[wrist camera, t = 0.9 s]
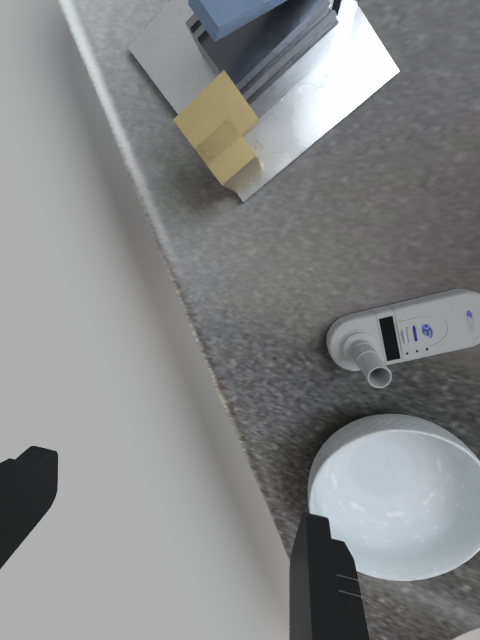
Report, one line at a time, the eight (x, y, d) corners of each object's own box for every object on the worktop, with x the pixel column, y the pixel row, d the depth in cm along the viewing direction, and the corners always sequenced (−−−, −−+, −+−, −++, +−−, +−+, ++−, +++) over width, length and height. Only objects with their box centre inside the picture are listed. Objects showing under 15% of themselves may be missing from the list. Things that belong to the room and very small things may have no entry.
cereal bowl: (494, 477, 39) (538, 532, 32) (364, 545, 43) (380, 607, 36) (399, 362, 36) (426, 395, 30) (273, 447, 41) (271, 493, 34)
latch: (239, 107, 31) (224, 69, 23) (276, 159, 32) (273, 140, 24) (199, 143, 32) (172, 120, 24) (236, 192, 33) (221, 185, 25)
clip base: (279, -108, 27) (278, -234, 20) (395, 75, 30) (434, 26, 22) (132, 52, 31) (84, -1, 24) (244, 202, 34) (233, 198, 26)
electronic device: (561, 373, 26) (351, 415, 28) (484, 333, 35) (331, 367, 37) (556, 303, 25) (336, 353, 27) (477, 281, 34) (320, 319, 36)
